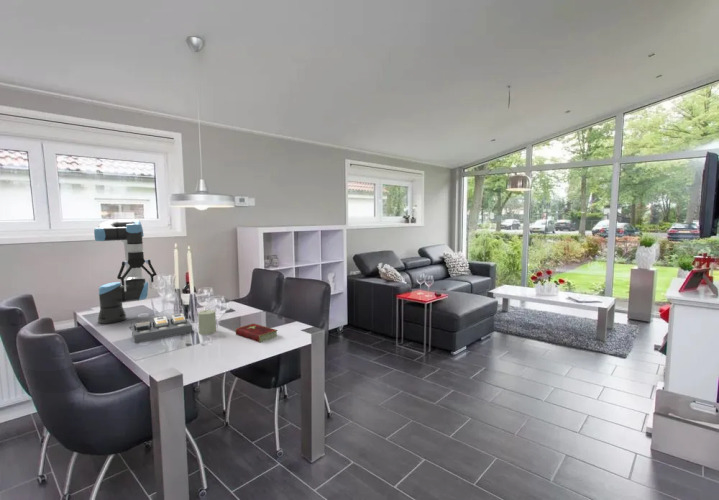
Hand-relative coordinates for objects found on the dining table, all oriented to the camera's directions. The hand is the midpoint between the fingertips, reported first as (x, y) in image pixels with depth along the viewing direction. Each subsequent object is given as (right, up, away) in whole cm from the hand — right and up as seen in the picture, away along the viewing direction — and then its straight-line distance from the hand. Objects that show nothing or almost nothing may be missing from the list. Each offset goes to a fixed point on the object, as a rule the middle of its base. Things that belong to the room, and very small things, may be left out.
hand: (138, 289), depth 210 cm
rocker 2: (+21, -17, +4) cm, 27 cm away
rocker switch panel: (+15, -24, -3) cm, 29 cm away
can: (+40, -24, -1) cm, 46 cm away
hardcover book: (+69, -25, -7) cm, 74 cm away
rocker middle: (+13, -18, -1) cm, 22 cm away
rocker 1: (+6, -18, -7) cm, 20 cm away
